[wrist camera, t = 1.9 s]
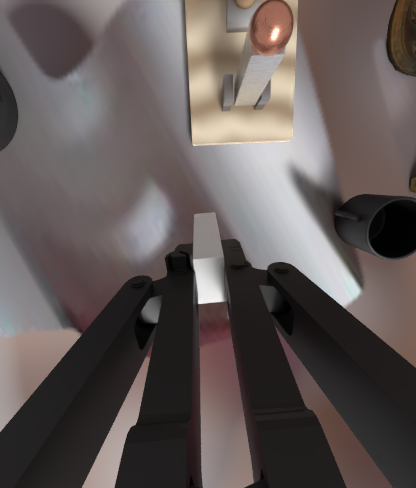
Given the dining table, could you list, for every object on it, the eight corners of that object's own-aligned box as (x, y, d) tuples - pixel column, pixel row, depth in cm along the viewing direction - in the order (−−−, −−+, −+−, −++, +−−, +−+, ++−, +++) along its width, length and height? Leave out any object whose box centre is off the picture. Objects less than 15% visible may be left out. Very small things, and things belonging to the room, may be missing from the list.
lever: (256, 107, 35) (299, 40, 19) (232, 108, 35) (253, 42, 19) (257, 79, 34) (301, -17, 18) (231, 80, 34) (253, -14, 18)
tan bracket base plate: (288, 141, 40) (305, 132, 33) (193, 145, 40) (190, 137, 33) (294, -21, 35) (316, -74, 28) (184, -15, 35) (178, -67, 28)
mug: (333, 183, 42) (367, 183, 33) (395, 202, 43) (444, 207, 34) (313, 234, 44) (339, 246, 35) (372, 251, 45) (412, 267, 36)
